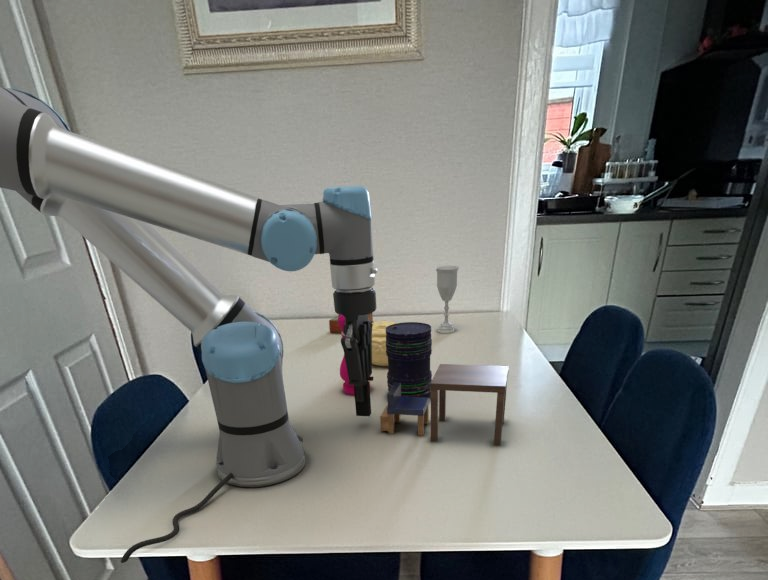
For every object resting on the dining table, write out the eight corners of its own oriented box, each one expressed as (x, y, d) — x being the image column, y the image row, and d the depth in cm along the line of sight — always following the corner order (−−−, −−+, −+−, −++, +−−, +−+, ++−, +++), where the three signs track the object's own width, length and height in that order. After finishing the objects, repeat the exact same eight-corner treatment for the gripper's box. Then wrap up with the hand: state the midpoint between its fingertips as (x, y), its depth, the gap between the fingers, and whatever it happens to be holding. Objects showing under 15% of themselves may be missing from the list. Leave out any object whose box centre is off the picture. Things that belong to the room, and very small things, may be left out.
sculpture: (359, 369, 138) (356, 326, 132) (371, 355, 148) (369, 314, 142) (402, 370, 136) (401, 327, 130) (412, 356, 145) (411, 315, 140)
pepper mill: (368, 396, 122) (362, 303, 111) (337, 395, 123) (328, 304, 112) (375, 385, 128) (370, 296, 117) (345, 384, 129) (338, 296, 118)
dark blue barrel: (435, 389, 123) (436, 322, 115) (427, 405, 116) (426, 334, 107) (394, 387, 126) (391, 321, 118) (382, 402, 118) (379, 333, 110)
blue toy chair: (380, 433, 105) (378, 393, 100) (388, 420, 110) (386, 382, 106) (423, 435, 103) (423, 395, 99) (429, 422, 108) (429, 383, 104)
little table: (500, 445, 98) (505, 386, 92) (430, 441, 101) (430, 383, 95) (504, 421, 107) (508, 366, 101) (439, 418, 110) (439, 363, 103)
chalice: (431, 329, 168) (431, 267, 159) (451, 326, 170) (452, 264, 160) (440, 335, 162) (441, 270, 153) (461, 332, 164) (463, 268, 154)
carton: (373, 322, 180) (372, 308, 177) (353, 334, 167) (352, 320, 165) (350, 320, 182) (349, 307, 180) (329, 333, 170) (328, 319, 168)
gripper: (364, 296, 88) (373, 429, 101) (383, 281, 99) (389, 403, 112) (321, 296, 90) (335, 427, 103) (344, 281, 101) (355, 401, 113)
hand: (363, 414), depth 107 cm, fingers closed
